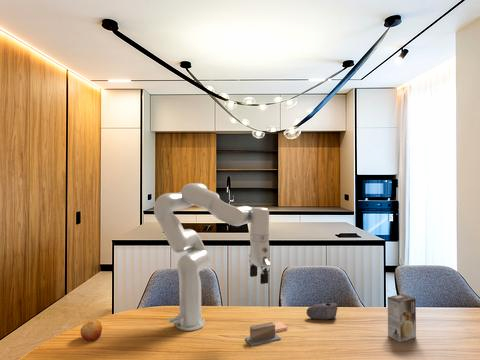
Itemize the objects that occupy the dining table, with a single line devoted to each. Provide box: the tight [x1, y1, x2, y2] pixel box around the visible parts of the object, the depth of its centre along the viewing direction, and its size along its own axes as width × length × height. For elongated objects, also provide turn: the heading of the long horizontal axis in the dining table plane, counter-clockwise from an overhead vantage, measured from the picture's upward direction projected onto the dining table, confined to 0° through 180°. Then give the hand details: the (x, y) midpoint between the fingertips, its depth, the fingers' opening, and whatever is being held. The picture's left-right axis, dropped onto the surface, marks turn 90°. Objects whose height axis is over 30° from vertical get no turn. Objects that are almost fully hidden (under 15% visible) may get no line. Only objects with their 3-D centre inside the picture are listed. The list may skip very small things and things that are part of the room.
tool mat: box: [244, 333, 281, 347], centre depth 132 cm, size 13×6×1 cm, turn 114°
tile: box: [273, 321, 288, 334], centre depth 141 cm, size 7×2×6 cm
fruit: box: [80, 319, 103, 342], centre depth 133 cm, size 8×8×8 cm
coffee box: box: [387, 293, 417, 343], centre depth 134 cm, size 9×6×16 cm
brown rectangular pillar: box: [249, 321, 276, 342], centre depth 132 cm, size 2×10×5 cm, turn 114°
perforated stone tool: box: [306, 302, 338, 320], centre depth 152 cm, size 15×5×7 cm, turn 90°
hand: (258, 279), depth 134 cm, fingers open, 9 cm apart
